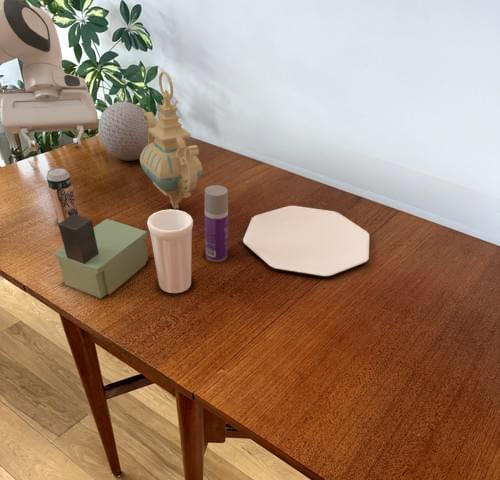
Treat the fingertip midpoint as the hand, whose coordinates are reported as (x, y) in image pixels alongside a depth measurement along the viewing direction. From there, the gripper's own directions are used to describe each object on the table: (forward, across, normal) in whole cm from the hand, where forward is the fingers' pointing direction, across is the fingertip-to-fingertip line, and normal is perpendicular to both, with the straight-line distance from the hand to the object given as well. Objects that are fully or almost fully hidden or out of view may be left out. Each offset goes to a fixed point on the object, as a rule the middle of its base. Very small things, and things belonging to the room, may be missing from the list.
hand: (56, 148), depth 103 cm
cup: (+36, +20, -17) cm, 44 cm away
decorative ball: (-8, +17, +27) cm, 33 cm away
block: (+29, +4, -20) cm, 35 cm away
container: (+30, +30, -11) cm, 44 cm away
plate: (+29, +51, -10) cm, 60 cm away
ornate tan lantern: (+14, +25, +5) cm, 29 cm away
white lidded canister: (+16, 0, +4) cm, 16 cm away
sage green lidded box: (+31, +7, -12) cm, 34 cm away
